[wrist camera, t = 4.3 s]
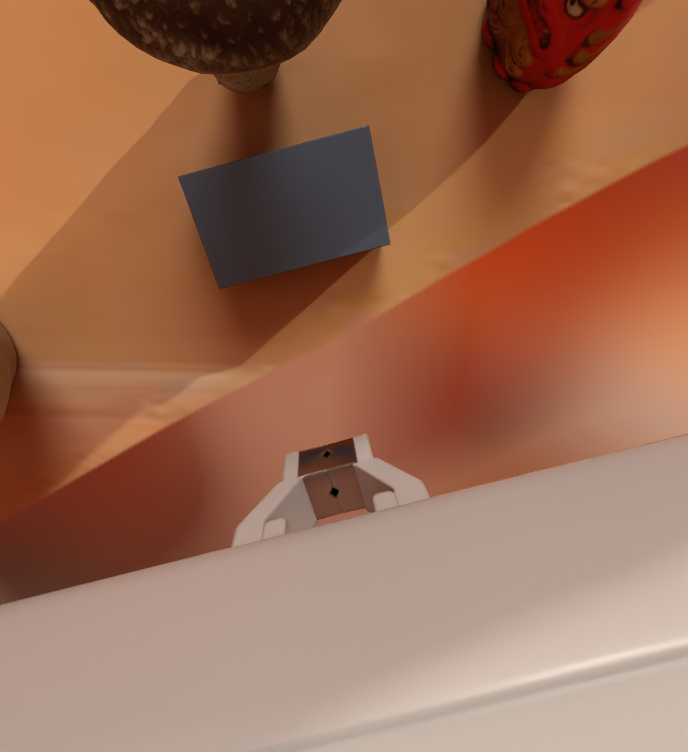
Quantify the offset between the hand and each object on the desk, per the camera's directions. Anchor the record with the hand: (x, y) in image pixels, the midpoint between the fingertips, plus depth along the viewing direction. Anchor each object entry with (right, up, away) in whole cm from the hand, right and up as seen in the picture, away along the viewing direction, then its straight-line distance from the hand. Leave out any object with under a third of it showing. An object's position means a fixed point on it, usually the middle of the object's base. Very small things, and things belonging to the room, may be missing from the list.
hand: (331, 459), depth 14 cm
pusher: (-3, +15, +14) cm, 21 cm away
